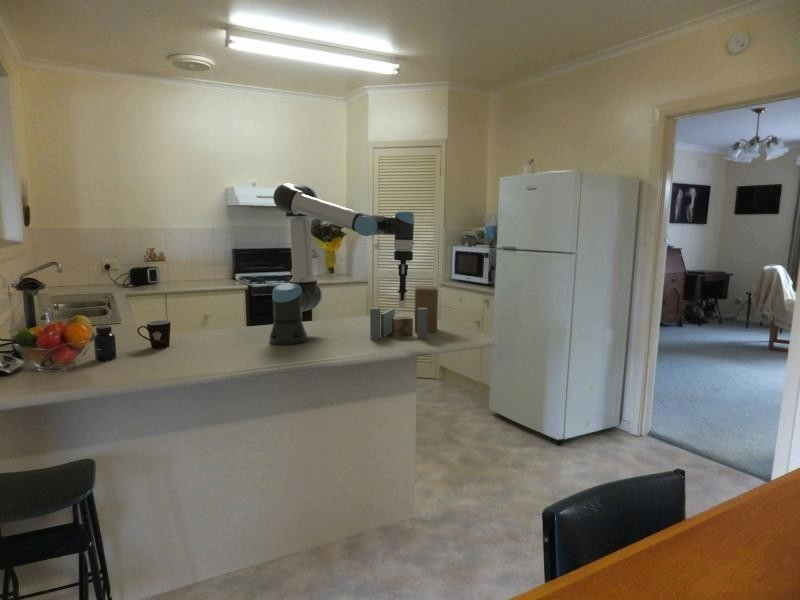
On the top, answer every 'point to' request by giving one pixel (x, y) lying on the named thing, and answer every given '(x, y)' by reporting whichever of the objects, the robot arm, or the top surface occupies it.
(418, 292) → the wooden block
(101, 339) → the supplement bottle
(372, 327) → the hinge post
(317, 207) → the robot arm
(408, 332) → the brown rectangular block
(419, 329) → the post
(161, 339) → the coffee mug
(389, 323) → the gate
